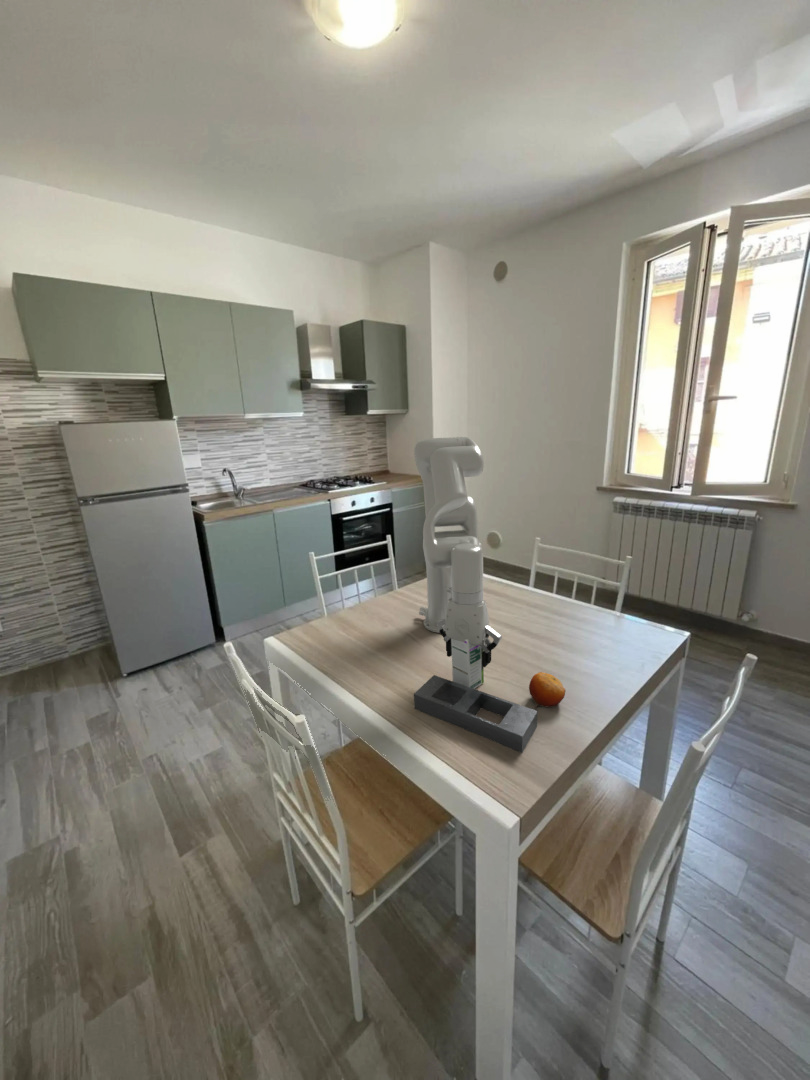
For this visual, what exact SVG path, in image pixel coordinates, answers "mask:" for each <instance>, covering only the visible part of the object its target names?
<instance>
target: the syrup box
mask: <svg viewBox="0 0 810 1080" xmlns="http://www.w3.org/2000/svg"><path fill="white" fill-rule="evenodd" d="M451 645H452V655H451V667H452V669H451V670H452V671H451V673H452V681H453V682H456V683H458V684H461V685H464V686H467V687H470V688H473V689H476V688H478V687H479V686H481V685H483V684H484V683H485V680H484V676H485V675H484V668H485V667H482V652H483V651H484V650H483V649H482V647H481V646H480V645H473V644H469V640H468V639H467V640H465V642H462V641H458V640H454V639H451Z"/></svg>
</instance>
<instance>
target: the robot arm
mask: <svg viewBox="0 0 810 1080" xmlns="http://www.w3.org/2000/svg"><path fill="white" fill-rule="evenodd" d="M413 451H414V453H413V455H414V462H415V465H416V468H417V471H418V473H419V475H420V477H421V481H422V486H423V497H424V498H423V499H424V500H423V501H424V514H425V519H424V523H423V527H422V528H423V529H422V535H423V540H422V549H423V554H424V560H425V567H426V568H425V569H426V570H425V571H426V587H427V588H426V589H427V590H426V592H427V595H426V596H427V607H425V606H420V607H419V612H418V615H419V616H422V617H425V618H424V620H423V627H424V628H425V629H426V630H428V631H430V632H434V633H438V634H439V633H440V635H441V636H442V637H443V641H444V642H445V652H446V656H447V657H448V658H450V657H452V645H451V639H454V640H458V641H462V642H465V640H467V639H468V640H469V644H473V645H480V646H481V647H482V649H483V652H482V667H483V668H486V667H487V666H488V665H489V664H490V663H491V662H492V650H494V649H495V648H496V647H497V646H498V645H499V643H500V641H502V639H503V636H502V635H501V634H500V633H499V632H497V631H496V630H495V629H493V628H492V627H491V626H490V619H489V610H488V605H487V603H486V600H484V551H483V547H482V543H481V542H480V539H479V526H478V525H479V523H478V512H477V505H476V502H475V500H474V498H473V497H472V496H470V495H468V492H467V486H466V480H465V478H473V477H479V476H480V475H482V473H483V471H484V467H485V462H484V455H483V452H482V450H481V448H480V446H478V444H477V443H476V442H475V441H474V440H473V439H472V438H471V437H468V436H457V437H456V436H454V437H453V436H452V437H433V438H432V437H431V438H425V439H421V440H419V441H418V442H417V443H416V444H415V445H414V450H413ZM458 526H459V527H461V529H458V530H445V531H443V530H439V531H435V528H445V527H458ZM490 637H491V639H493V641H492V642H491V640H490V639H489V638H490Z"/></svg>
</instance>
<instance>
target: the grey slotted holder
mask: <svg viewBox="0 0 810 1080" xmlns="http://www.w3.org/2000/svg"><path fill="white" fill-rule="evenodd" d="M413 702H414V703H413V704H414V705H413V707H414V710H416V711H419V712H421V713H424V714H427V715H429V716H431V717H434V718H436V719H438V720H441V721H443V722H446V723H449V724H450V725H452V726H455V727H458V728H461V729H463V730H465V731H467V732H469V733H472V734H475V735H477V736H479V737H482V738H485V739H487V740H489V741H491V742H494V743H496V744H499V745H502V746H503V747H505V748H508V749H510V750H513V751H516V752H518V753H521V754H523V753H524V751H525V749H526V747H527V745H528V743H529V742H530V740H531V739H532V736H533V735H534V733H535V731H536V730H537V727H538V714H539V713H538V710H535V709H532V708H530V707H527V706H524V705H521V704H519V703H516V702H513V701H510V700H507V699H504V698H501V697H499V696H496V695H492V694H489V693H487V692H484V691H481V690H478V689H476V688H475V689H473V688H470V687H467V686H464V685H461V684H458V683H456V682H453V680H449V679H446V678H444V677H441V676H437V675H435V674H433V676H431V677H430V678H429V679H428V680H427V681H426V682H425V683H424V684H423V685H422V686H421V687H419V688H418V690H416V691H415V692H414V693H413ZM481 710H485V711H487V712H490V713H492V714H496V715H497V716H501V717H502V718H503V719H502V720H501V722H500V723H499V724H498V723H495V722H493V721H491V720H488V719H485V718H483V717H479V715H478V713H479V712H480V711H481ZM477 715H478V716H477Z"/></svg>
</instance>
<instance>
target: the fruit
mask: <svg viewBox="0 0 810 1080" xmlns="http://www.w3.org/2000/svg"><path fill="white" fill-rule="evenodd" d="M528 686H529V687H528V691H529V695H530V697H531V698H532V699H533V702H534V704H535V706H534V708H535V709H536V708H537V707H538V706H542V707H546V708H551V707H552V708H553V707H557V706H558V705H559V704H561V702H562V701H563V700H564V698H565V694H566V687H564V685H563V682H561V681H560V679H559V678H557V677H556V676H554V674H553V675H552V674H550V673H547V672H542V671H539V672H537V673H536V674H534V675H533V676H532V677H531V679H530V681H529V685H528Z"/></svg>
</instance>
